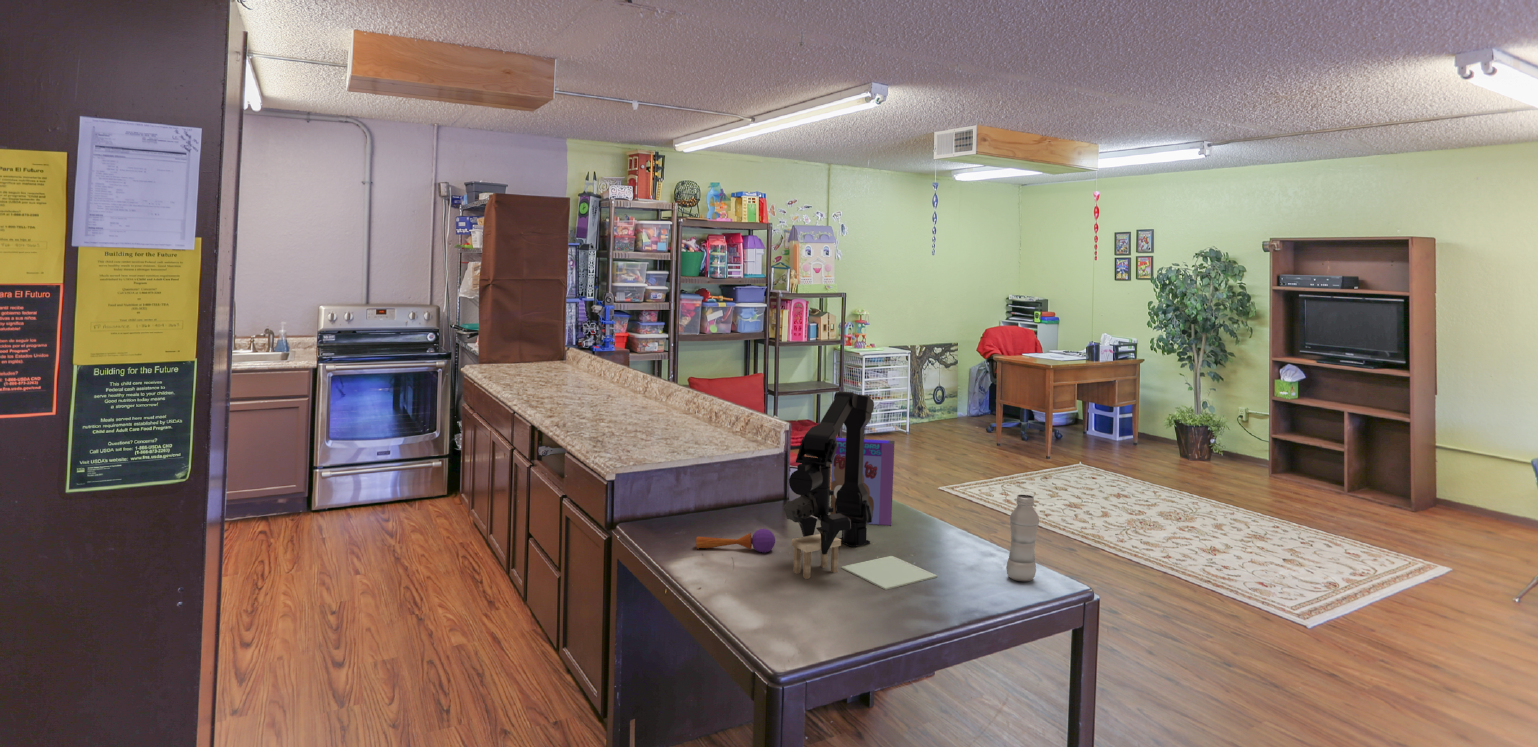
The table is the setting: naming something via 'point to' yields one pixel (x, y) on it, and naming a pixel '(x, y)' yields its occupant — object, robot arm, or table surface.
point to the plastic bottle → (1023, 540)
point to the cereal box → (869, 477)
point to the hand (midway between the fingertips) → (816, 550)
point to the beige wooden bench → (808, 546)
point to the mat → (889, 572)
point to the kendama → (742, 541)
